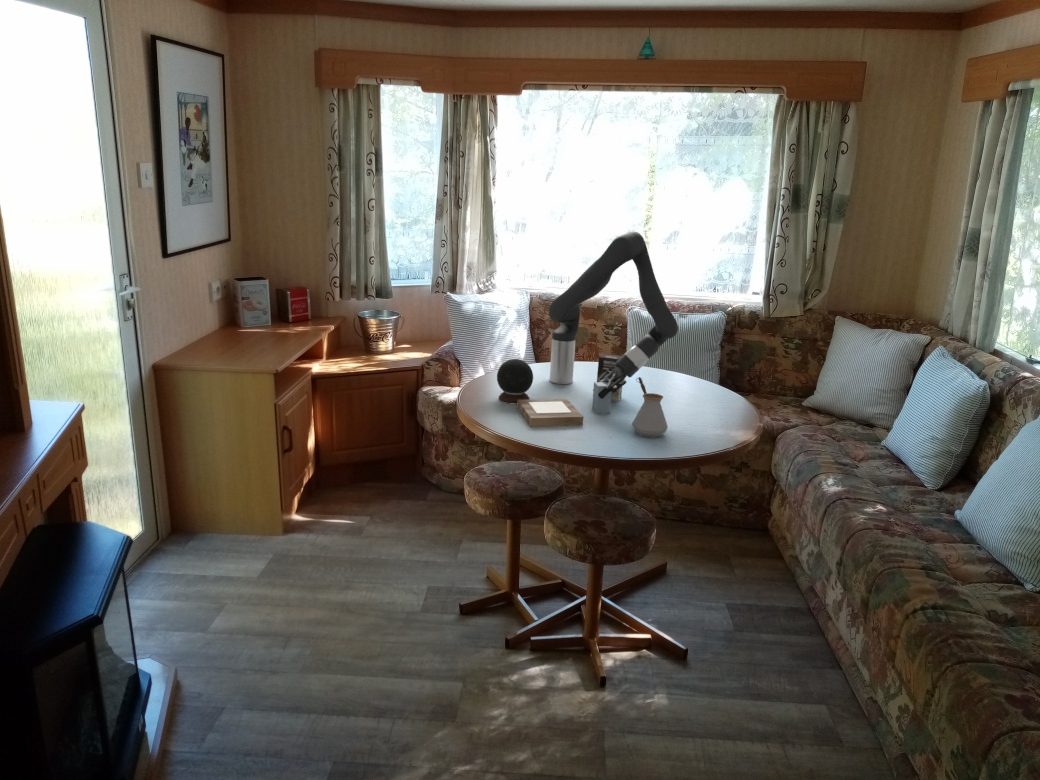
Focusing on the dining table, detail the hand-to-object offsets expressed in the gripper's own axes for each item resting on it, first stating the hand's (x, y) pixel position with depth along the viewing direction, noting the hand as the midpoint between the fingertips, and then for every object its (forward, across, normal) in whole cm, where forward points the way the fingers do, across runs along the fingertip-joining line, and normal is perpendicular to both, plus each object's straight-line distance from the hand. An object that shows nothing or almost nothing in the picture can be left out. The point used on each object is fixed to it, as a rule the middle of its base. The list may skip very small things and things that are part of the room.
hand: (597, 394), depth 272 cm
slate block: (+3, 0, +6) cm, 6 cm away
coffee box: (-2, -15, +12) cm, 19 cm away
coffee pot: (-3, +19, +12) cm, 23 cm away
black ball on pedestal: (+23, -16, -14) cm, 31 cm away
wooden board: (+17, +4, -8) cm, 20 cm away
